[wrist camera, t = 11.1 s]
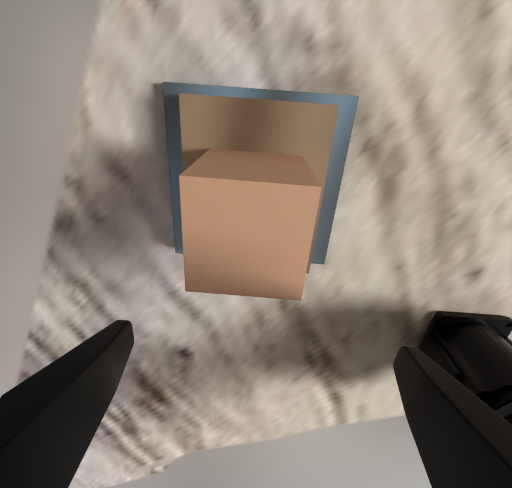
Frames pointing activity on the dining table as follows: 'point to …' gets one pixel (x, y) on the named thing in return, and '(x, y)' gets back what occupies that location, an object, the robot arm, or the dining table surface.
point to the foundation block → (261, 138)
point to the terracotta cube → (248, 223)
